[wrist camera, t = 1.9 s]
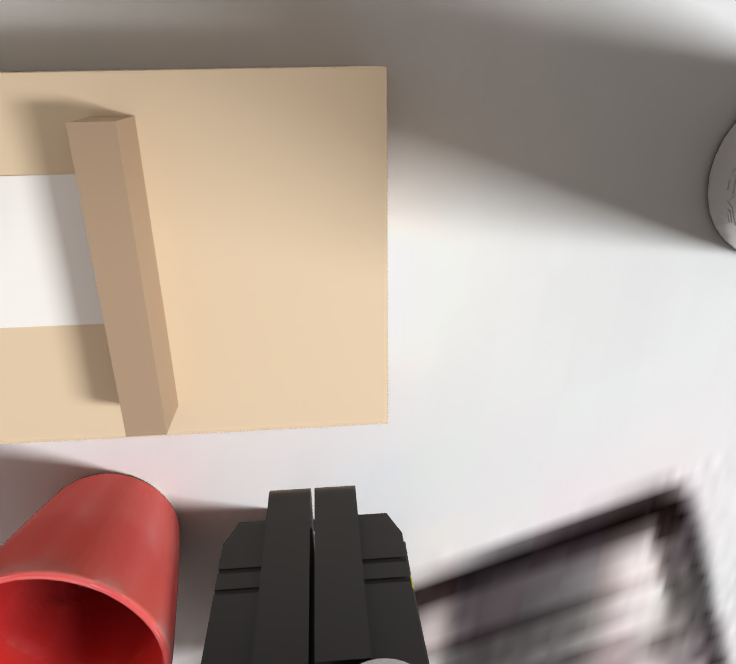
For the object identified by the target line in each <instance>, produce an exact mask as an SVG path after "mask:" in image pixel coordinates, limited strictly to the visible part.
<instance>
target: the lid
mask: <svg viewBox="0 0 736 664" xmlns="http://www.w3.org/2000/svg"><path fill="white" fill-rule="evenodd" d="M385 423H388V281H387V67H330V68H270V69H211V70H151V71H92V72H32V73H0V444H13V443H31V442H50V441H68V440H87V439H106V438H124V437H143V436H162V435H180V434H199V433H217V432H236V431H255V430H273V429H292V428H311V427H329V426H348V425H366V424H385Z"/></svg>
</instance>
